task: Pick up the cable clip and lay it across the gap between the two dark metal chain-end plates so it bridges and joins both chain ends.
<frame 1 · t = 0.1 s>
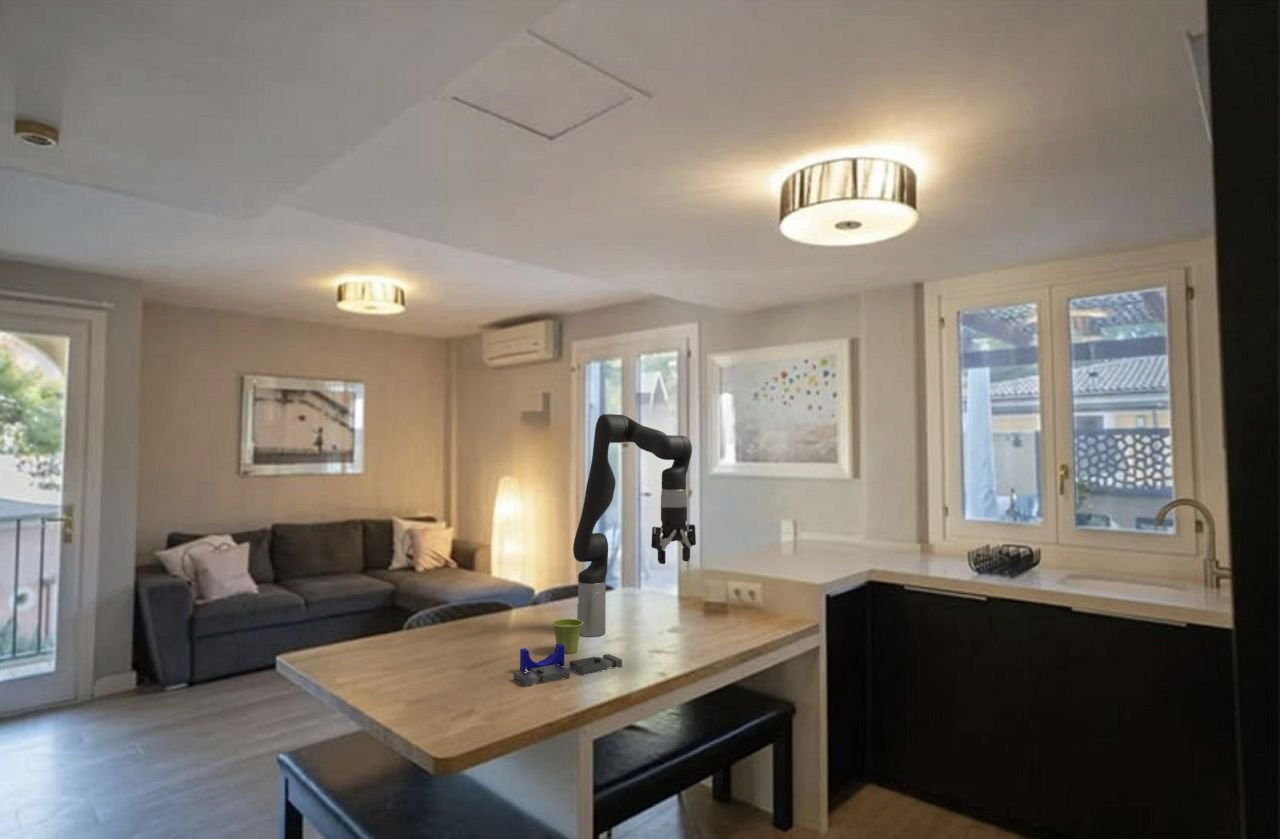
hand: (674, 562, 198), 29 cm above the table, tool pointing down, fingers open, 8 cm apart
chain ends: (569, 673, 190), on the table
plant pot: (567, 652, 212), on the table
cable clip: (541, 669, 195), on the table
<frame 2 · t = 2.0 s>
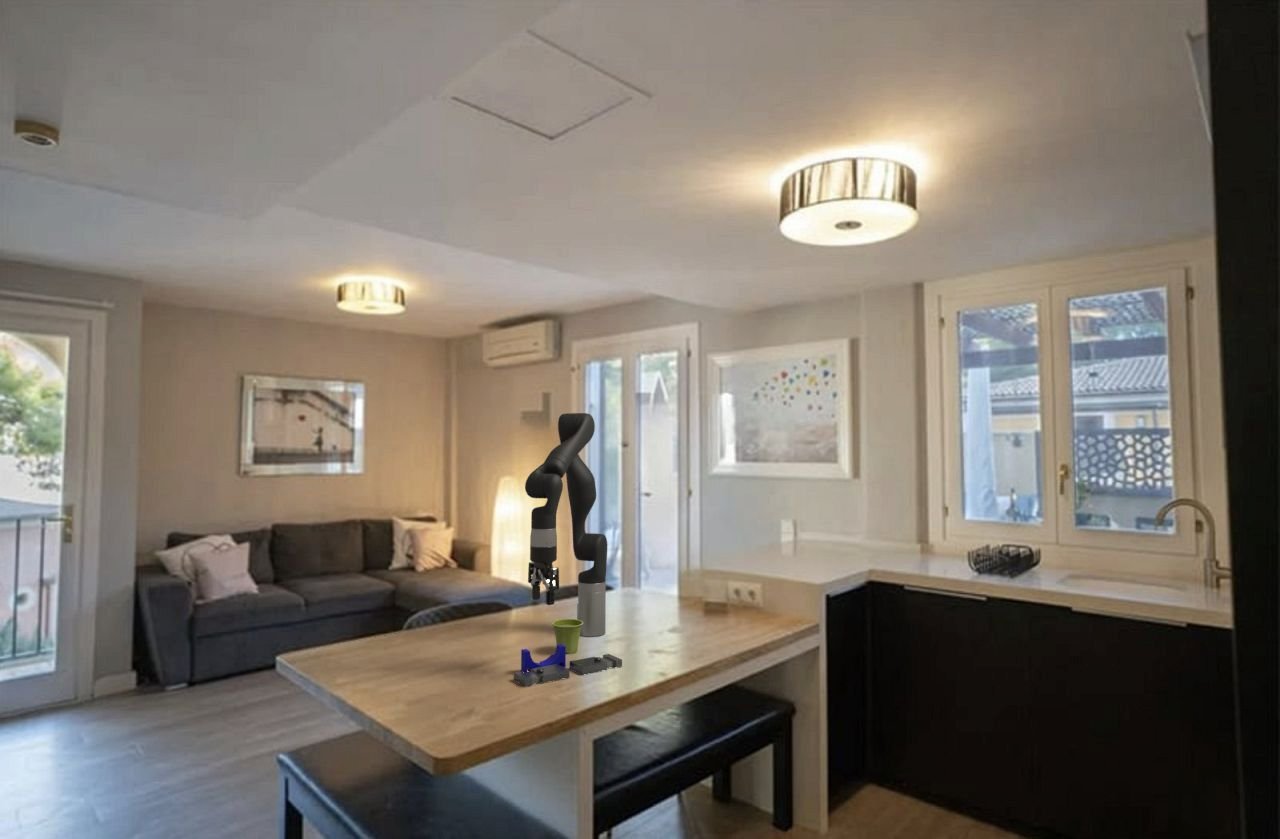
hand: (543, 602, 196), 18 cm above the table, tool pointing down, fingers open, 8 cm apart
nothing on the table moved.
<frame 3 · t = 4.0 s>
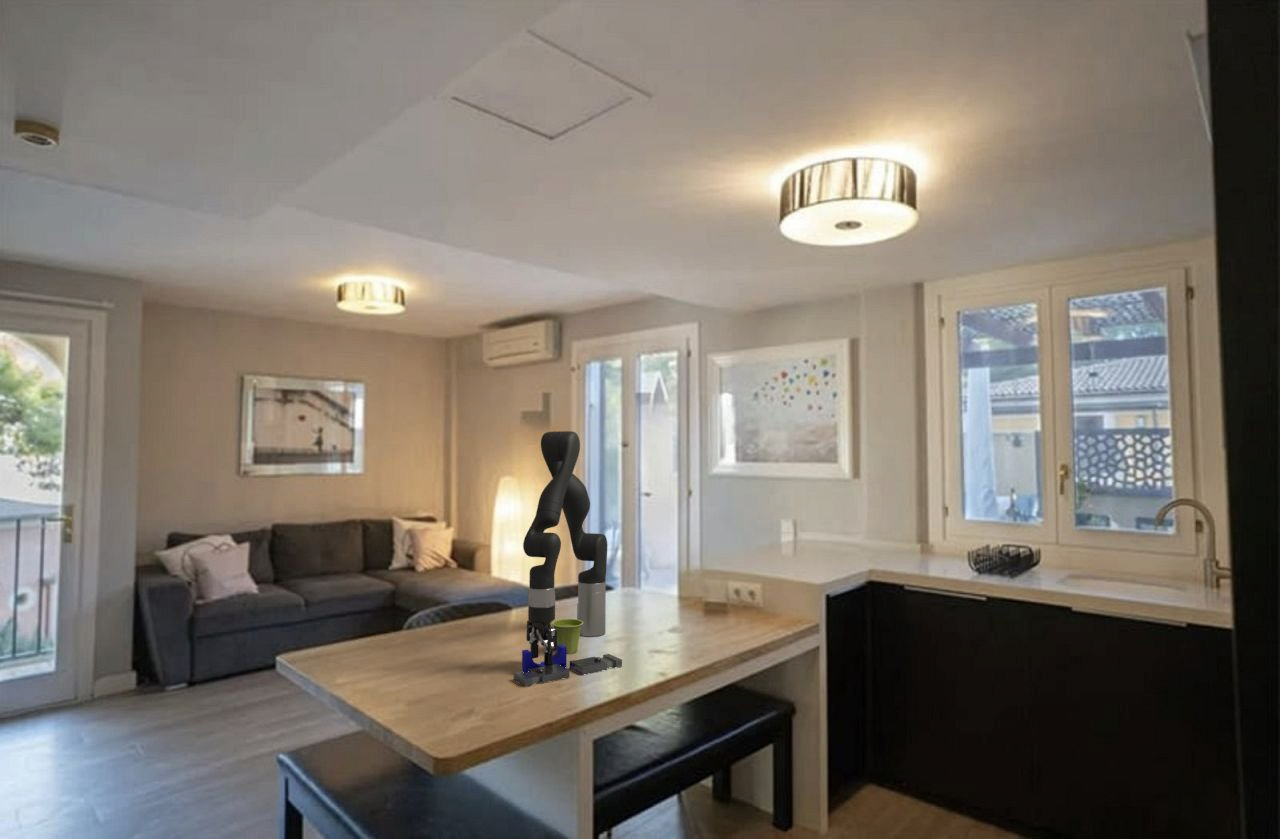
hand: (541, 661, 196), 2 cm above the table, tool pointing down, fingers open, 8 cm apart
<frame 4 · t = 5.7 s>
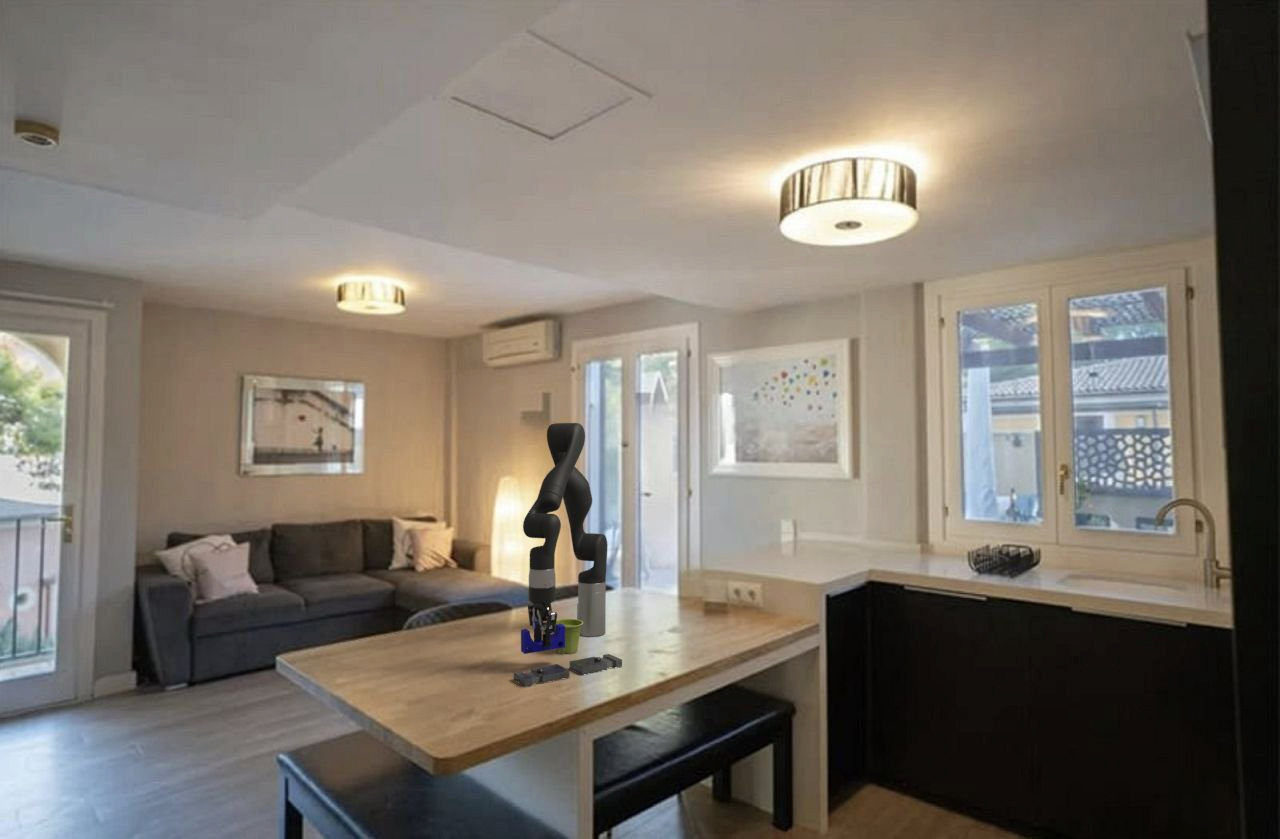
hand: (542, 644, 196), 6 cm above the table, tool pointing down, fingers closed on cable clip, 4 cm apart
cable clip: (542, 649, 196), point 5 cm above the table, touching gripper
everything else where it was.
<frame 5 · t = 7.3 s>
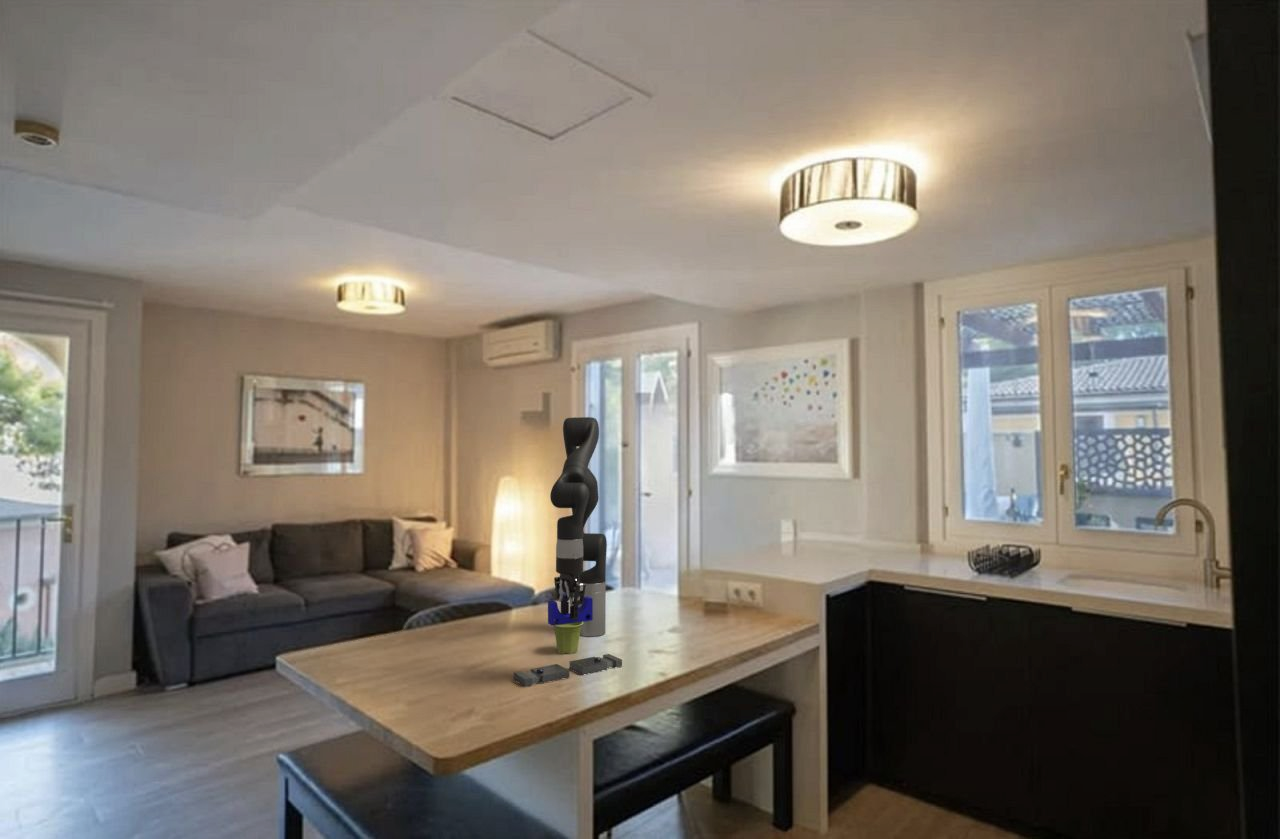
hand: (569, 617, 191), 15 cm above the table, tool pointing down, fingers closed on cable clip, 4 cm apart
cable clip: (569, 621, 191), point 14 cm above the table, touching gripper
everything else where it was.
when the fingers open (4 cm above the table, at t = 10.0 s): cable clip drops 1 cm, resting on chain ends.
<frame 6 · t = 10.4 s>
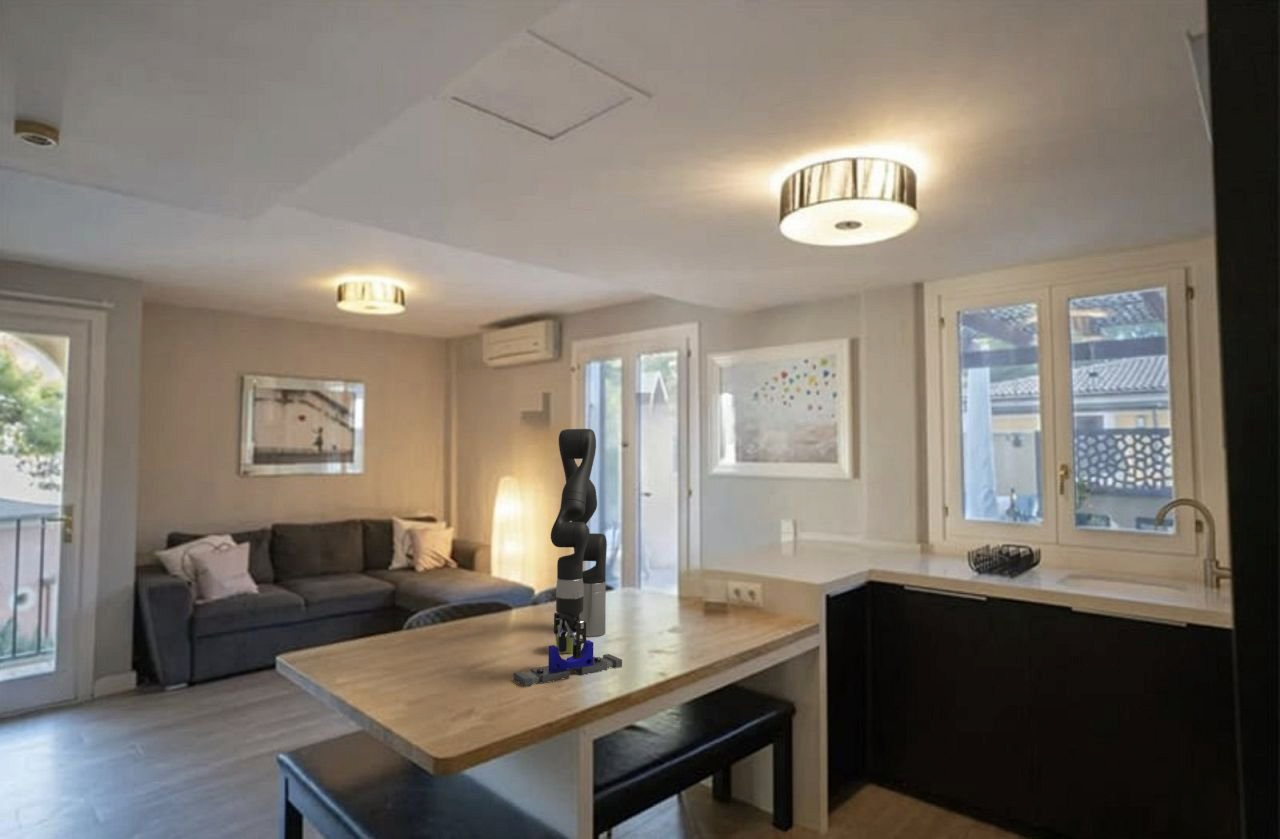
hand: (569, 654, 191), 5 cm above the table, tool pointing down, fingers open, 7 cm apart
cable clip: (569, 666, 191), point 2 cm above the table, touching chain ends
everything else where it was.
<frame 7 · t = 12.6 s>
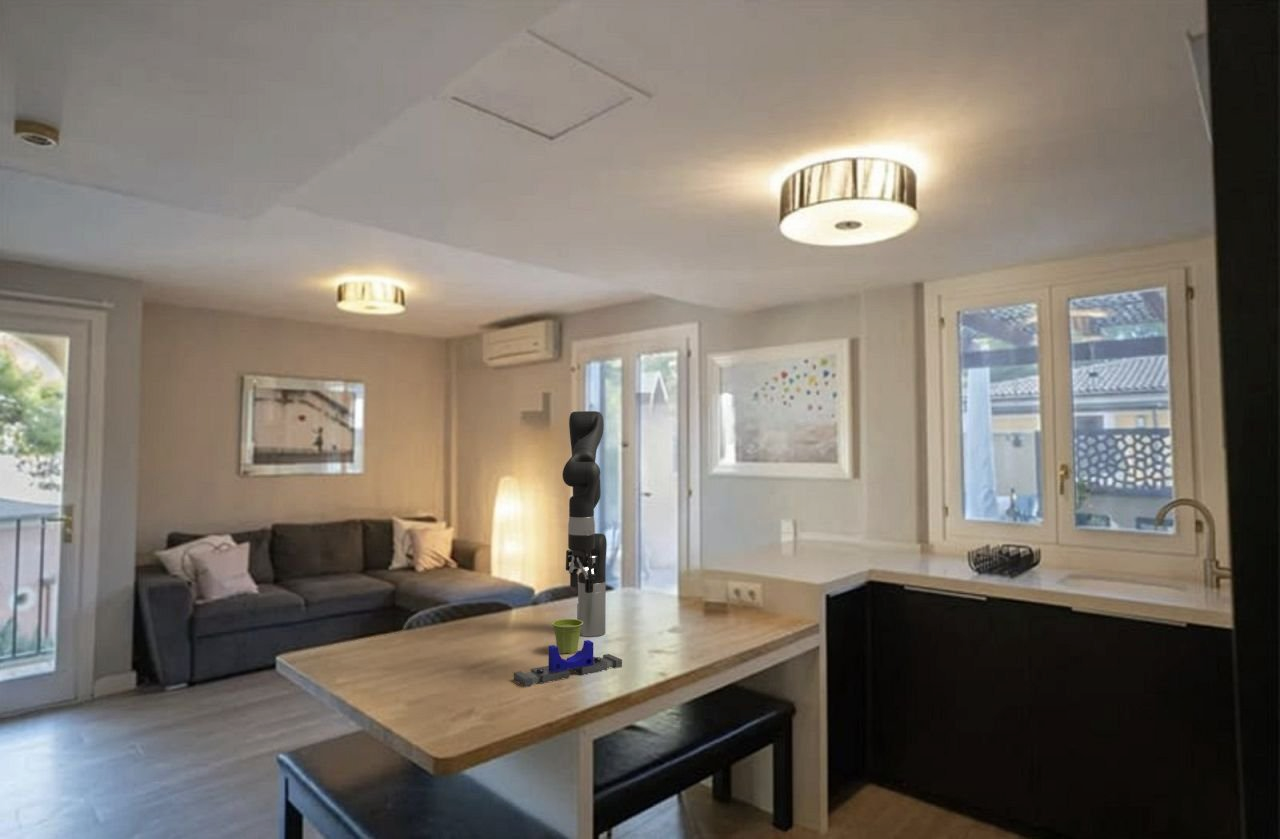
hand: (581, 589, 197), 22 cm above the table, tool pointing down, fingers open, 8 cm apart
nothing on the table moved.
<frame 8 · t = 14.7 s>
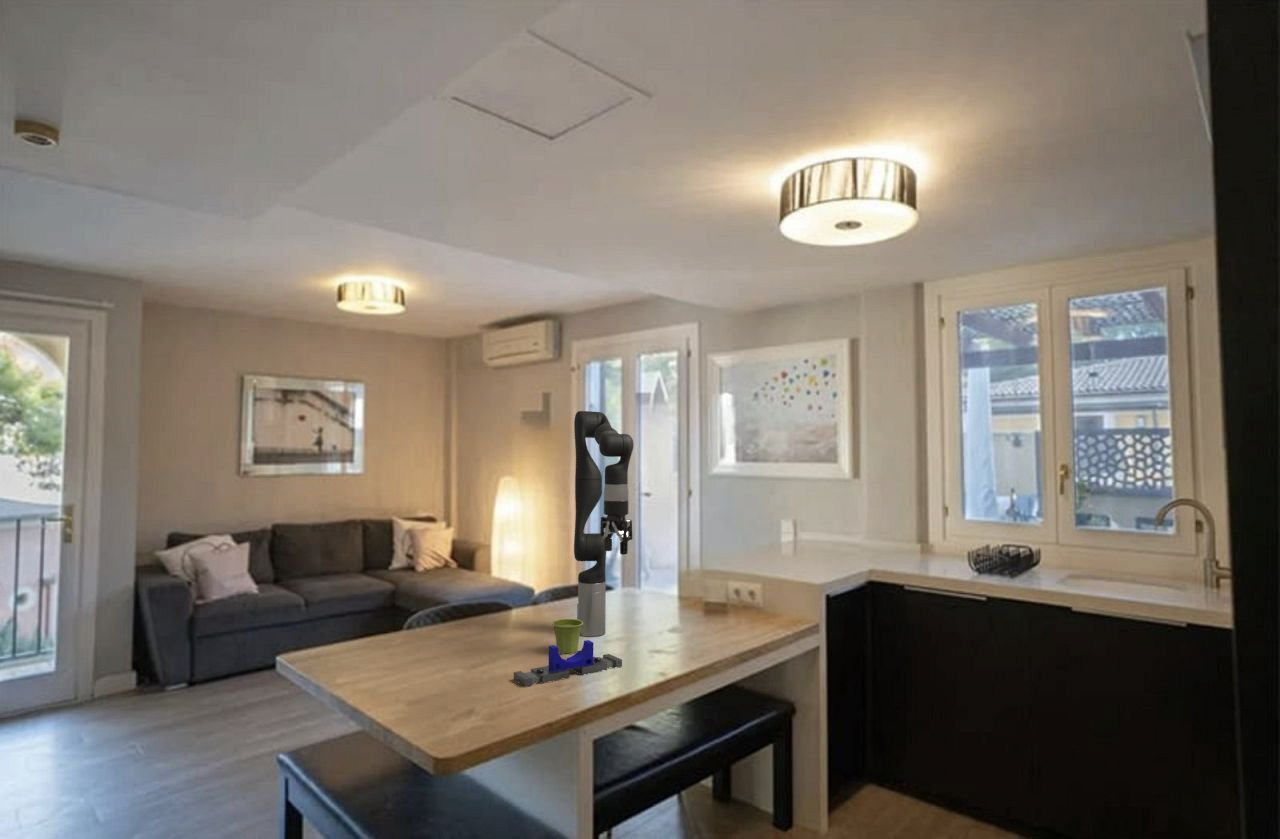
hand: (615, 552, 211), 30 cm above the table, tool pointing down, fingers open, 8 cm apart
nothing on the table moved.
at the end: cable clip 0.1 cm off-centre on the chain ends, point 1.8 cm above the chain ends's base; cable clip tilted 0°; the gripper is holding nothing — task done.
